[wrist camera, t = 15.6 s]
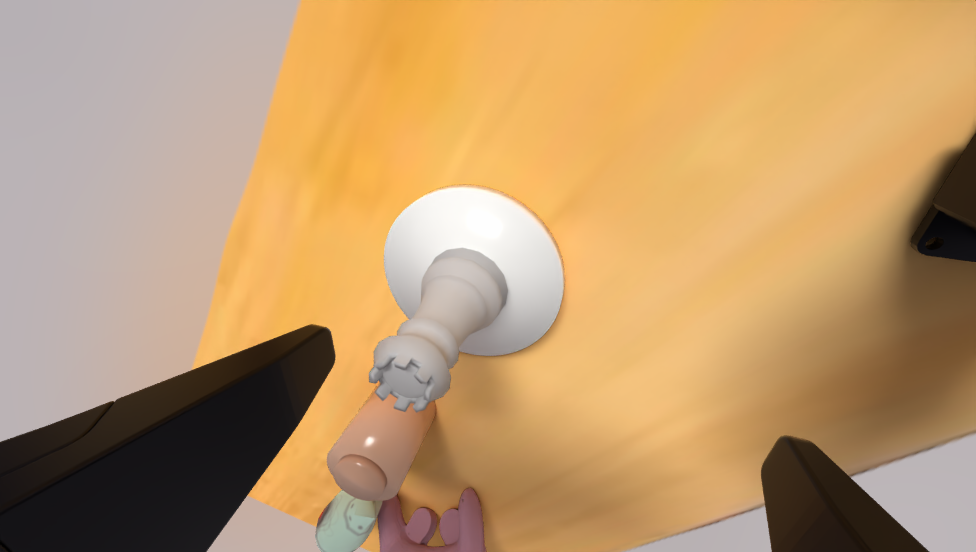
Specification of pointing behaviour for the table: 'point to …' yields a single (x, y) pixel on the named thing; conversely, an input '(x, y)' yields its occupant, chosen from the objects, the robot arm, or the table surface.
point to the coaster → (496, 234)
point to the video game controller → (432, 527)
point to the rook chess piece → (438, 328)
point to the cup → (378, 448)
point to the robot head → (346, 523)
